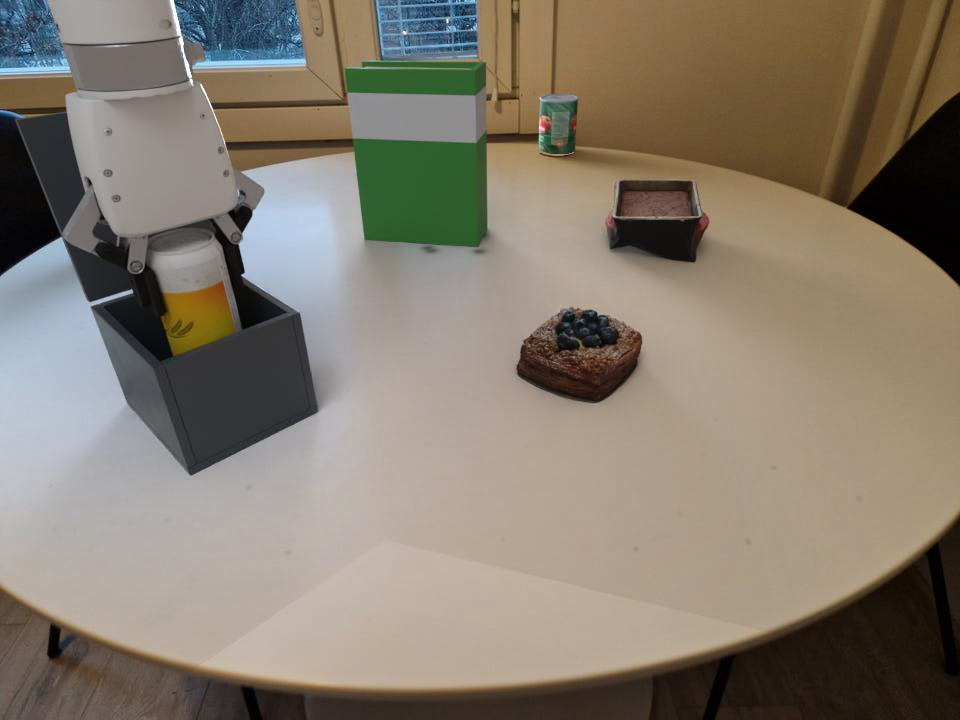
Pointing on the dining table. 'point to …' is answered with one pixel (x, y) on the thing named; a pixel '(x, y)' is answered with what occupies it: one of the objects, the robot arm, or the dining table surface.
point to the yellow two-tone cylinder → (193, 287)
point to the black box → (212, 376)
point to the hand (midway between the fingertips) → (195, 295)
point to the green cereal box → (420, 150)
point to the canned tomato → (558, 123)
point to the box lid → (73, 200)
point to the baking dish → (657, 217)
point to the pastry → (580, 355)
